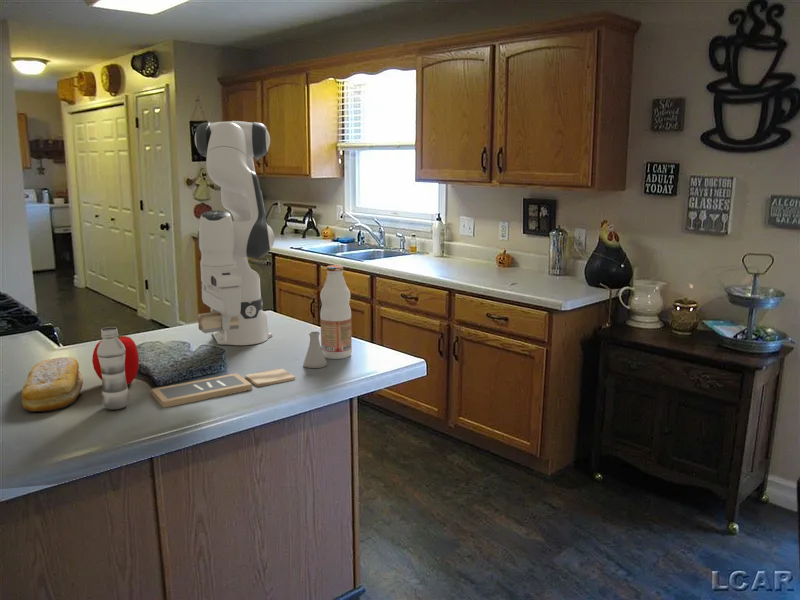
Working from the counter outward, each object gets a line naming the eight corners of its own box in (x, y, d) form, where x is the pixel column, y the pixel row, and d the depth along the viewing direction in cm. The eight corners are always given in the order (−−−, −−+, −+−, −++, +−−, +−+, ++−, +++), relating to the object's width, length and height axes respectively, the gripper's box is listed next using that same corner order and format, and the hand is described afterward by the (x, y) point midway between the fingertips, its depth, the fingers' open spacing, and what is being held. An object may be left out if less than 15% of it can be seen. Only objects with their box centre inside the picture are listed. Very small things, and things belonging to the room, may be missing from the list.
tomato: (136, 391, 173) (132, 339, 170) (90, 394, 171) (84, 342, 168) (144, 376, 185) (140, 327, 182) (101, 378, 183) (96, 329, 180)
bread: (84, 377, 185) (82, 349, 183) (82, 409, 161) (79, 378, 160) (30, 383, 180) (27, 355, 178) (19, 418, 156) (15, 386, 154)
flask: (323, 369, 191) (322, 336, 189) (299, 368, 193) (298, 335, 190) (330, 362, 198) (329, 330, 196) (307, 360, 200) (306, 328, 197)
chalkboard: (151, 394, 171) (151, 388, 171) (237, 378, 184) (236, 372, 183) (163, 407, 162) (163, 401, 162) (252, 389, 175) (251, 384, 174)
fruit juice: (320, 360, 200) (318, 269, 194) (321, 351, 209) (319, 264, 203) (352, 359, 201) (350, 268, 195) (351, 350, 210) (350, 263, 204)
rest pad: (245, 377, 184) (245, 375, 184) (281, 370, 190) (281, 368, 190) (257, 387, 177) (257, 384, 176) (295, 379, 183) (295, 376, 183)
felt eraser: (198, 328, 172) (197, 314, 171) (232, 324, 177) (231, 309, 176) (204, 333, 168) (203, 318, 167) (238, 328, 173) (238, 313, 172)
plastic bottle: (102, 414, 158) (94, 333, 153) (102, 404, 164) (94, 327, 160) (131, 410, 160) (124, 331, 156) (130, 401, 166) (123, 324, 162)
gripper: (194, 269, 177) (197, 319, 180) (219, 282, 160) (222, 337, 163) (217, 267, 180) (220, 316, 183) (244, 279, 163) (246, 333, 166)
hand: (221, 326), depth 173 cm, fingers closed on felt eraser, 5 cm apart
